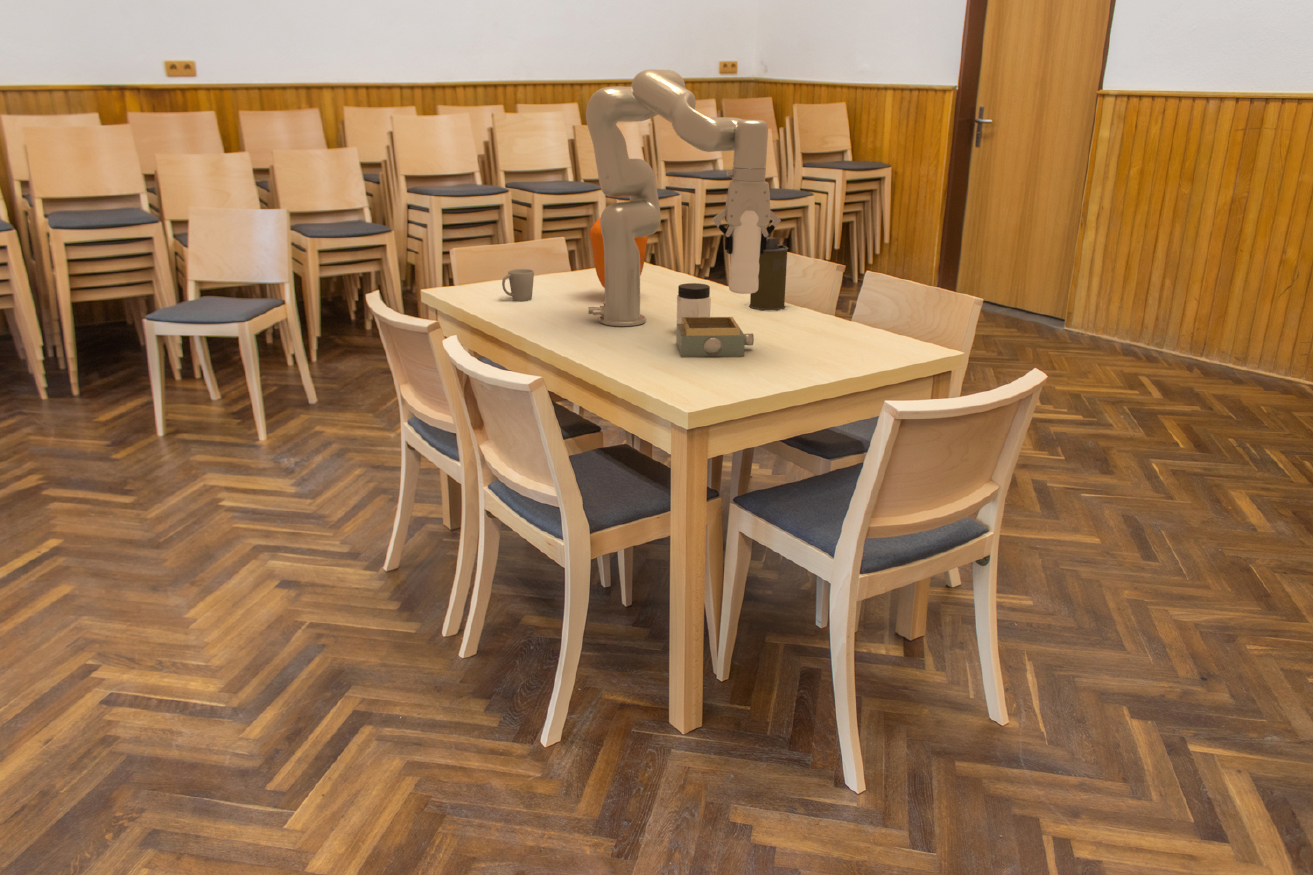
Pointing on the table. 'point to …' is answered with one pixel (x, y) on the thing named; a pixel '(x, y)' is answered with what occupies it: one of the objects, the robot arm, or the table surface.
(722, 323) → the gearbox
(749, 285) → the water bottle
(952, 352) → the table surface
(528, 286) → the cup
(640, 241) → the orange egg-shaped ornament
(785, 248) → the canister
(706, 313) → the jar
